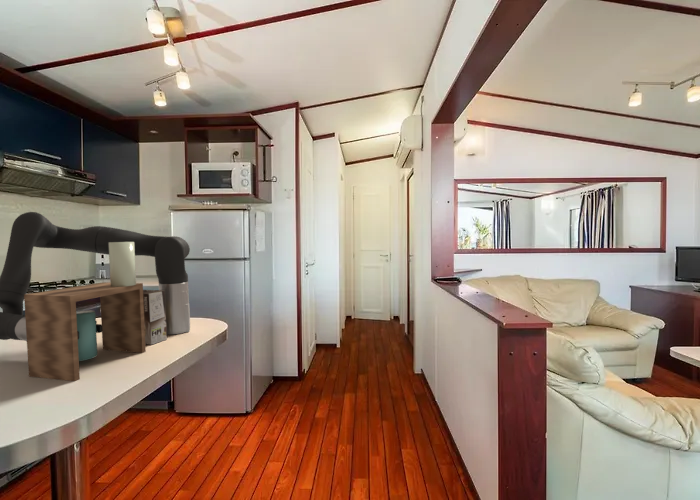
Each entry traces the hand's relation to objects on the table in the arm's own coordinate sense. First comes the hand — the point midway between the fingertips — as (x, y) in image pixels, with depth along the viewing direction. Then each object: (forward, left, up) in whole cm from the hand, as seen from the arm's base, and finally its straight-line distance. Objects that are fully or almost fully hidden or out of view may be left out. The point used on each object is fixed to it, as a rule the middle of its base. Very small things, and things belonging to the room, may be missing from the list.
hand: (89, 331), depth 95 cm
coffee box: (-11, -16, -9) cm, 21 cm away
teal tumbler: (+2, -1, -7) cm, 7 cm away
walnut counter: (0, 0, -8) cm, 8 cm away
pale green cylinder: (-8, -2, +12) cm, 14 cm away
